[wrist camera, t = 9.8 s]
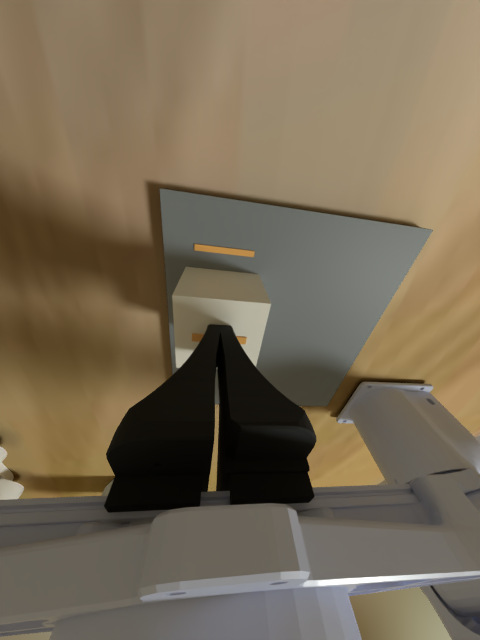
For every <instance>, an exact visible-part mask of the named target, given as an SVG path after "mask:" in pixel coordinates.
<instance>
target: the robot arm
mask: <svg viewBox="0 0 480 640" xmlns="http://www.w3.org/2000/svg"><path fill="white" fill-rule="evenodd" d="M216 370H217V374H218V390H219V435H218V462H217V486H216V491H213V492H207V491H208V483H209V474H210V469H211V461H212V452H213V444H214V429H215V377H216ZM432 389H433V386H432V385H431V384H416V383H389V382H362V383H360V385H359V386H358V388H357V389H356V391H355V392H354V394H353V395H352V396H351V398H350V399H349V401H348V402H347V404H346V405H345V407H344V408H343V410H342V411H341V413H340V414H339V416H338V417H337V419H336V420H337V422H338V423H354V424H355V426H356V428H357V430H358V431H359V433H360V435H361V437H362V439H363V440H364V442H365V444H366V446H367V448H368V449H369V451H370V453H371V455H372V457H373V458H374V460H375V462H376V464H377V466H378V467H379V469H380V471H381V473H382V475H383V476H384V478H385V480H386V482H387V483H388V485H366V486H340V487H315V488H312V486H311V482H310V479H309V476H308V471H309V465H308V461H307V456H308V455H309V453H310V452H311V450H312V449H313V447H314V445H315V443H316V435H315V432H314V430H313V427H312V425H311V423H310V420H309V419H308V417H307V415H306V413H305V411H304V410H303V409H302V408H300V407H299V406H298V405H296V404H295V403H294V402H292V401H291V400H290V399H288V398H287V397H286V396H284V395H283V394H282V393H281V392H280V391H279V390H277V389H276V388H275V387H274V386H273V385H272V384H271V383H270V382H269V381H268V380H267V379H266V378H265V377H264V376H263V375H262V374H261V373H260V371H259V370H258V369H257V368H256V367H255V365H254V364H253V363H252V361H251V360H250V359H249V357H248V356H247V354H246V353H245V351H244V350H243V348H242V346H241V345H240V343H239V341H238V339H237V337H236V335H235V333H234V331H233V328H232V326H230V325H215V324H209V325H208V326H207V329H206V332H205V334H204V336H203V338H202V339H201V341H200V342H199V344H198V346H197V347H196V348H195V350H194V351H193V353H192V354H191V355H190V357H189V358H188V359H187V360H186V361H185V363H184V364H183V365H182V366H181V367H180V368H179V369H178V370H177V371H176V372H175V373H174V374H173V375H172V376H171V377H170V378H169V379H168V380H167V381H166V382H164V383H163V384H162V385H161V386H160V387H158V388H157V389H156V390H155V391H153V392H152V393H151V394H150V395H148V396H147V397H145V398H144V399H143V400H141V401H140V402H138V403H137V404H136V405H134V406H133V407H131V408H130V409H129V410H128V412H127V413H126V415H125V416H124V418H123V419H122V421H121V423H120V425H119V426H118V428H117V430H116V432H115V434H114V436H113V439H112V441H111V444H110V446H109V448H108V451H107V453H106V456H107V460H108V462H109V464H110V466H111V468H112V470H113V472H114V474H115V478H114V480H113V483H112V486H111V488H110V491H109V494H108V496H85V497H60V498H34V499H9V500H0V637H1V636H11V635H21V634H30V633H39V632H50V631H52V634H51V636H50V639H49V640H362V639H361V635H360V632H359V629H358V625H357V622H356V619H355V616H354V612H353V609H352V606H351V603H350V599H349V596H354V595H361V594H369V593H376V592H384V591H391V590H398V589H407V588H414V587H420V588H421V590H422V591H423V593H424V594H425V595H426V596H427V598H428V599H429V601H430V602H431V604H432V606H433V607H434V609H435V611H436V612H437V614H438V616H439V617H440V619H441V621H442V623H443V624H444V626H445V628H446V629H447V631H448V633H449V635H450V637H451V638H452V640H480V443H479V442H478V440H477V439H476V438H475V437H474V436H473V435H472V434H471V433H470V432H469V431H468V430H467V429H466V428H465V427H464V426H463V425H462V424H461V423H460V422H459V421H458V420H457V419H456V418H455V417H454V416H453V415H452V414H451V413H450V412H449V411H448V410H447V409H446V408H445V407H444V406H443V405H442V404H441V403H440V402H439V401H438V400H437V399H436V398H435V397H434V396H433V395H432V394H431V393H430V391H431V390H432Z"/></svg>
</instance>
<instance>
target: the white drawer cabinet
mask: <svg viewBox="0 0 480 640" xmlns="http://www.w3.org/2000/svg"><path fill="white" fill-rule="evenodd" d="M172 301H173V319H174V338H175V356H176V368H180V367H181V366H182V365H183V364H184V363H185V361H186V360H187V359H188V358H189V357H190V355H191V354H192V353H193V351H194V350H195V348H196V347H197V346H198V344H199V342H200V341H201V339H202V338H203V336H204V334H205V332H206V329H207V326H208V325H209V324H215V325H230V326H232V328H233V331H234V333H235V335H236V337H237V339H238V341H239V343H240V345H241V346H242V348H243V350H244V351H245V353H246V354H247V356H248V357H249V359H250V360H251V361H252V363H253V364H254V365H255V367H256V364H257V360H258V356H259V352H260V348H261V344H262V340H263V336H264V331H265V327H266V323H267V319H268V315H269V311H270V307H271V302H270V300H269V297H268V295H267V292H266V290H265V288H264V285H263V283H262V280H261V278H260V275H259V274H252V273H242V272H233V271H223V270H214V269H204V268H194V267H186V268H185V270H184V272H183V274H182V276H181V278H180V280H179V282H178V284H177V286H176V288H175V291H174V293H173V295H172Z"/></svg>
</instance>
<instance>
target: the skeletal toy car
mask: <svg viewBox="0 0 480 640" xmlns="http://www.w3.org/2000/svg"><path fill="white" fill-rule="evenodd" d="M6 456H7V452H6V451H5V449H4V448H2V447H0V478H1V479H0V500H9V499H18V498H19V497H20V495H21V494H22V492H23V491H24V487H23V486H22V485H21V484H19V483H16V482H13V479H14V476H13V473H12V472H11V471H10V470H9V469H8V468H7V467H5V466H4V464H3V463H2V461H3V460H4V459H5V457H6Z"/></svg>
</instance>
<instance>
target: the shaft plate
mask: <svg viewBox="0 0 480 640" xmlns="http://www.w3.org/2000/svg"><path fill="white" fill-rule="evenodd" d="M160 202H161V216H162V231H163V245H164V260H165V274H166V288H167V303H168V317H169V332H170V346H171V361H172V375H173V374H174V373H175V372H176V371H177V370H178V369H179V368H176V356H175V338H174V319H173V301H172V295H173V293H174V291H175V288H176V286H177V284H178V282H179V280H180V278H181V276H182V274H183V272H184V270H185V268H186V267H194V268H204V269H214V270H223V271H233V272H242V273H252V274H259V275H260V278H261V280H262V283H263V285H264V288H265V290H266V292H267V295H268V297H269V300H270V302H271V307H270V311H269V315H268V319H267V323H266V327H265V331H264V336H263V340H262V344H261V348H260V352H259V356H258V360H257V364H256V368H257V369H258V370H259V371H260V373H261V374H262V375H263V376H264V377H265V378H266V379H267V380H268V381H269V382H270V383H271V384H272V385H273V386H274V387H275V388H276V389H277V390H279V391H280V392H281V393H282V394H283V395H284V396H286V397H287V398H288V399H290V400H291V401H292V402H294V403H295V404H296V405H298V406H328V404H329V402H330V401H331V399H332V397H333V396H334V394H335V392H336V391H337V389H338V387H339V386H340V384H341V382H342V381H343V379H344V377H345V376H346V374H347V372H348V371H349V369H350V367H351V366H352V364H353V362H354V361H355V359H356V357H357V356H358V354H359V352H360V351H361V349H362V347H363V346H364V344H365V342H366V341H367V339H368V337H369V336H370V334H371V332H372V331H373V329H374V327H375V326H376V324H377V322H378V321H379V319H380V317H381V316H382V314H383V312H384V311H385V309H386V307H387V306H388V304H389V302H390V301H391V299H392V297H393V296H394V294H395V292H396V291H397V289H398V287H399V286H400V284H401V282H402V281H403V279H404V278H405V276H406V274H407V273H408V271H409V269H410V268H411V266H412V264H413V263H414V261H415V259H416V258H417V256H418V254H419V253H420V251H421V249H422V248H423V246H424V244H425V243H426V241H427V239H428V238H429V236H430V234H431V233H432V231H433V230H431V229H426V228H420V227H414V226H407V225H401V224H394V223H388V222H381V221H374V220H368V219H361V218H355V217H348V216H342V215H335V214H329V213H322V212H315V211H309V210H302V209H296V208H289V207H283V206H276V205H269V204H263V203H256V202H250V201H243V200H237V199H230V198H223V197H217V196H210V195H204V194H197V193H191V192H184V191H178V190H171V189H164V188H160ZM215 404H219V390H218V374H217V370H216V377H215Z"/></svg>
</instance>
